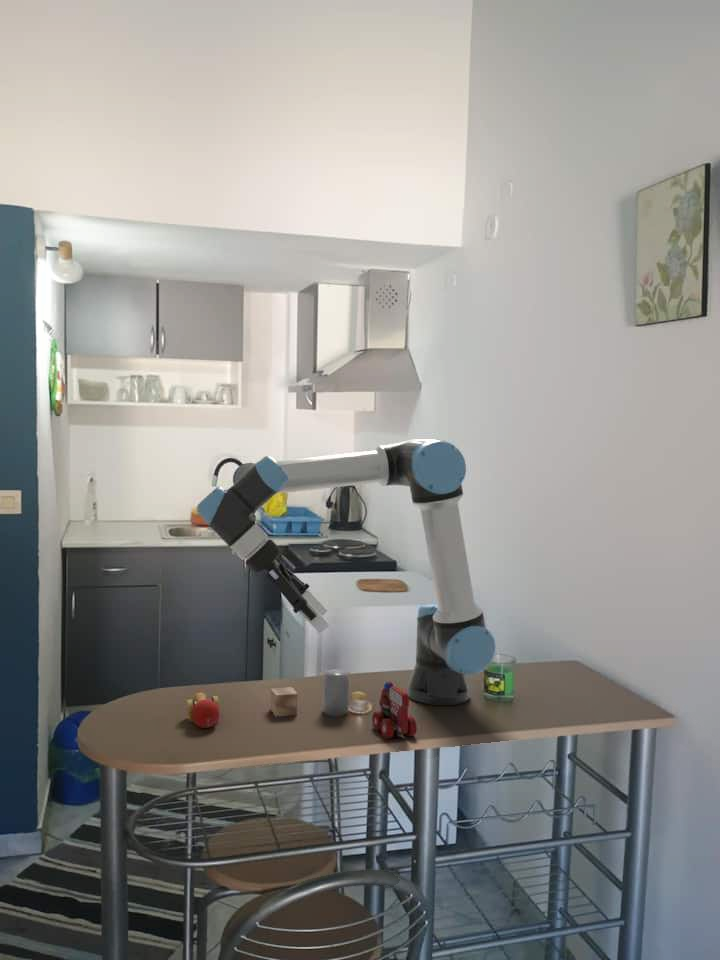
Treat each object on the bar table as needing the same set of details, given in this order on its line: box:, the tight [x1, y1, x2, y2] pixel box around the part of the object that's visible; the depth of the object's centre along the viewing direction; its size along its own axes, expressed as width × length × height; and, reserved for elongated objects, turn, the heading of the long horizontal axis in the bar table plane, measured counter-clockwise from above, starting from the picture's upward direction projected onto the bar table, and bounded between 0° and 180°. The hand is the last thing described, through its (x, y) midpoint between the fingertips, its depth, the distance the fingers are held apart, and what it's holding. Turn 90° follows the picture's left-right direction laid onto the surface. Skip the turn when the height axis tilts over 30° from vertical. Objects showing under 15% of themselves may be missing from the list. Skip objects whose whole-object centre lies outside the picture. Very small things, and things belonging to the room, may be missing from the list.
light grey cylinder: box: [322, 668, 351, 717], centre depth 194 cm, size 6×6×9 cm
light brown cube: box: [269, 686, 298, 718], centre depth 192 cm, size 5×5×5 cm
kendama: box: [186, 691, 221, 729], centre depth 187 cm, size 8×6×18 cm
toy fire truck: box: [371, 681, 418, 740], centre depth 182 cm, size 7×12×10 cm, turn 21°
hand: (324, 621), depth 180 cm, fingers open, 13 cm apart
